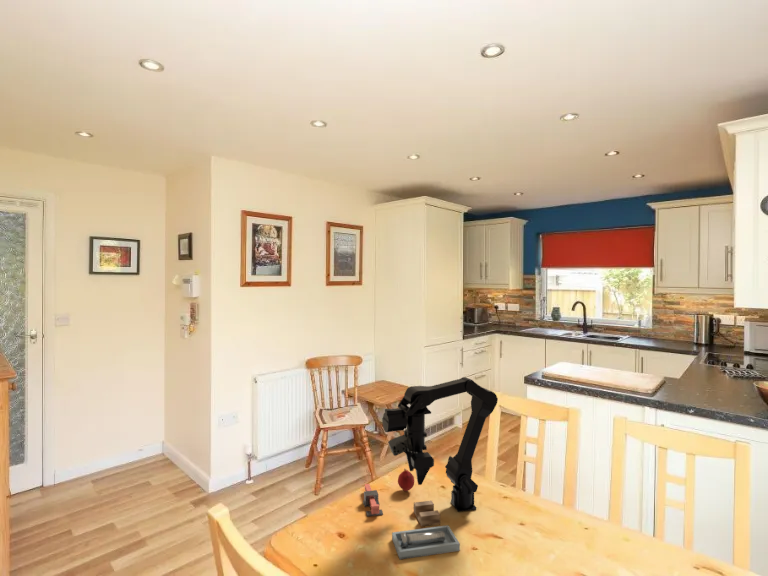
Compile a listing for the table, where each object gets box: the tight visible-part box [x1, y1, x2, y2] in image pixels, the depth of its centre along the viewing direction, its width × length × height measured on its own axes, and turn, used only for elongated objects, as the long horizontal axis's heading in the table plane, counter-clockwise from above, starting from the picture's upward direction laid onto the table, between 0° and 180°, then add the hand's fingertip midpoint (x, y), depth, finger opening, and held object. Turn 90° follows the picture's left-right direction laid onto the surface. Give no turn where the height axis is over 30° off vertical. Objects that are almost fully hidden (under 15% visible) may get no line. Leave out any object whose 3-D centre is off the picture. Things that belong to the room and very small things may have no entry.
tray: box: [391, 524, 461, 560], centre depth 113 cm, size 17×9×2 cm, turn 102°
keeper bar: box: [364, 483, 380, 514], centre depth 134 cm, size 2×16×2 cm, turn 12°
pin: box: [400, 531, 445, 547], centre depth 113 cm, size 12×3×3 cm, turn 102°
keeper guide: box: [362, 489, 384, 517], centre depth 131 cm, size 5×8×4 cm, turn 12°
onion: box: [397, 468, 415, 493], centre depth 142 cm, size 6×6×8 cm
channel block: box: [413, 500, 441, 527], centre depth 126 cm, size 6×8×3 cm
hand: (415, 477), depth 127 cm, fingers open, 9 cm apart
